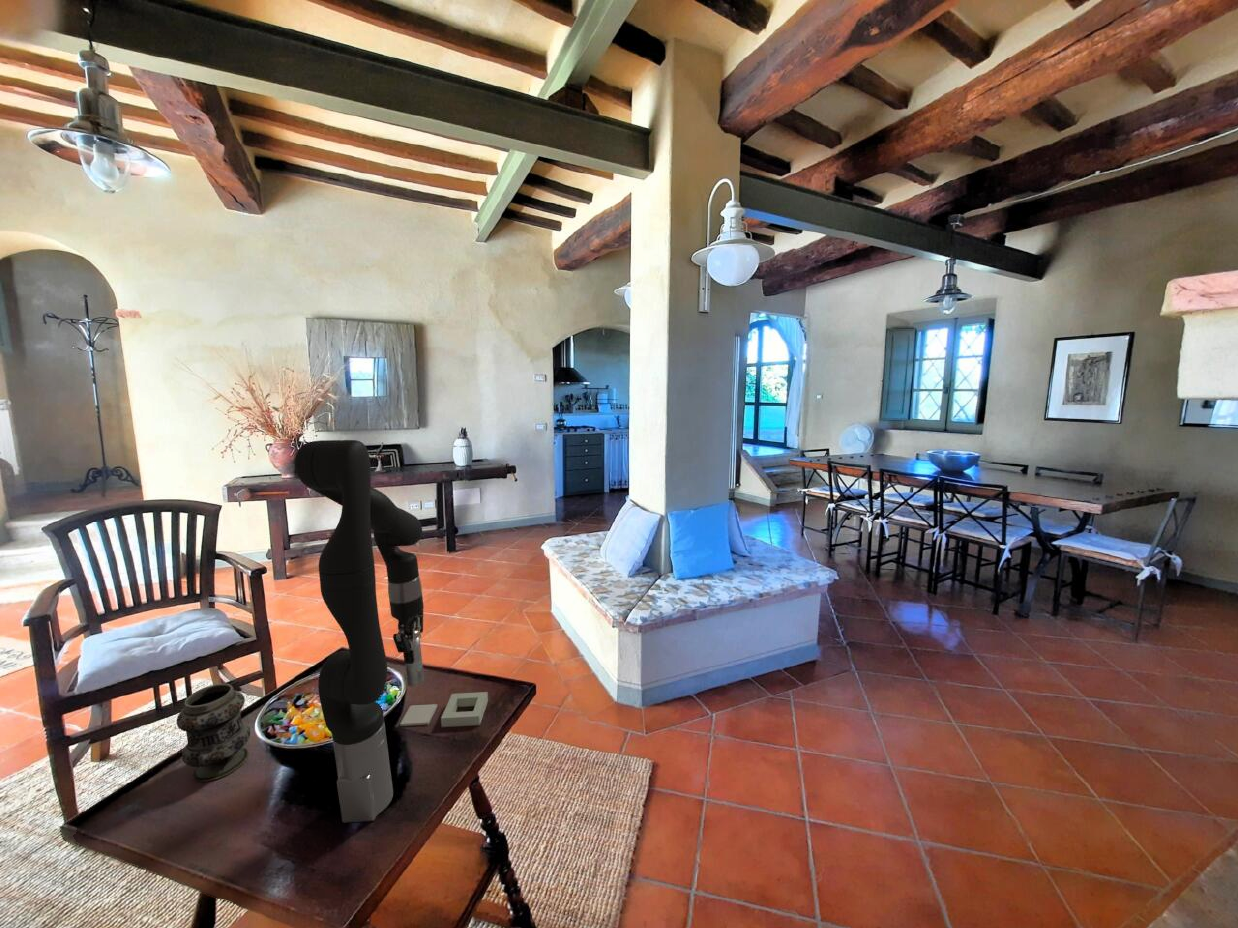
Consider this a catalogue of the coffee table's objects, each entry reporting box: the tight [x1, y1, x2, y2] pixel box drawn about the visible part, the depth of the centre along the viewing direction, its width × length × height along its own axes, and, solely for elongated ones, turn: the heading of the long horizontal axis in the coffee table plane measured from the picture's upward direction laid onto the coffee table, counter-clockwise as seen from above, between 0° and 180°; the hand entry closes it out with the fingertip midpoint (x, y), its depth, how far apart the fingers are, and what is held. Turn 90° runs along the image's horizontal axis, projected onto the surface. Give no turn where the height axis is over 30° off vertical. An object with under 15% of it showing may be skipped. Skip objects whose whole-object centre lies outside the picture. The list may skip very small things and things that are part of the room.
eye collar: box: [440, 691, 489, 728], centre depth 126 cm, size 10×10×2 cm
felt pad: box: [399, 703, 438, 727], centre depth 125 cm, size 7×7×1 cm
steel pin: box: [404, 628, 425, 687], centre depth 122 cm, size 4×4×14 cm
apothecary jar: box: [176, 683, 251, 783], centre depth 109 cm, size 12×12×18 cm
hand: (413, 657), depth 122 cm, fingers closed on steel pin, 4 cm apart
